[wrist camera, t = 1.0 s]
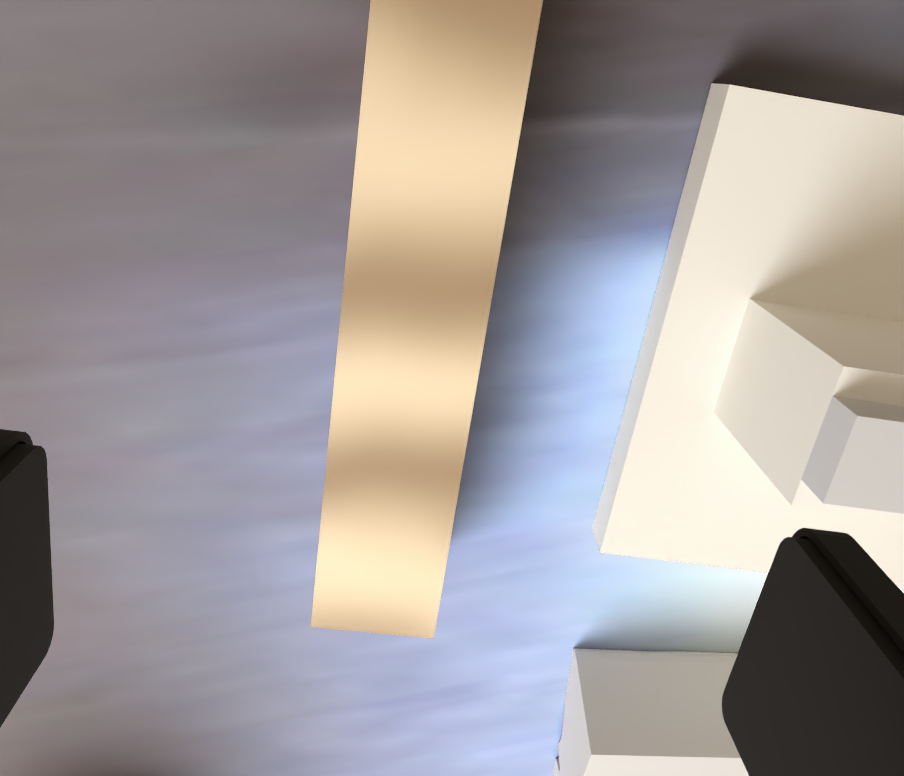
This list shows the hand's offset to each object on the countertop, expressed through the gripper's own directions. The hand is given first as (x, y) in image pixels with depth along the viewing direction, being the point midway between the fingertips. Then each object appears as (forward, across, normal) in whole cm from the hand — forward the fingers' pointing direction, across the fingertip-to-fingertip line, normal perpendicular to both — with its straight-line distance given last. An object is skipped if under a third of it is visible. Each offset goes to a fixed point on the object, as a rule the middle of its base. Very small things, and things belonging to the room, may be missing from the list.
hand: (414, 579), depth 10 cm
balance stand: (+17, -15, +1) cm, 22 cm away
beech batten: (+17, 0, -1) cm, 17 cm away
